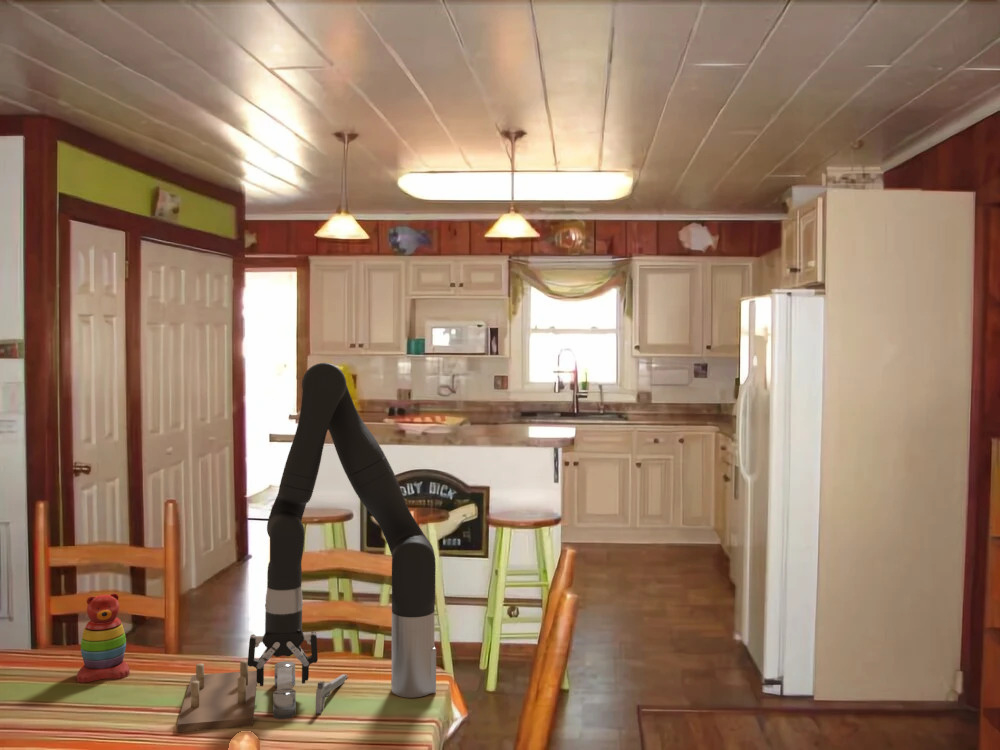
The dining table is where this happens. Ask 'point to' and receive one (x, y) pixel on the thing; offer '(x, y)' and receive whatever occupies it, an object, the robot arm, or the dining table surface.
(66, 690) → the dining table surface
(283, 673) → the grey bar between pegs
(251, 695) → the board
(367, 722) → the dining table surface
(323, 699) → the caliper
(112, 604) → the stacking bear
